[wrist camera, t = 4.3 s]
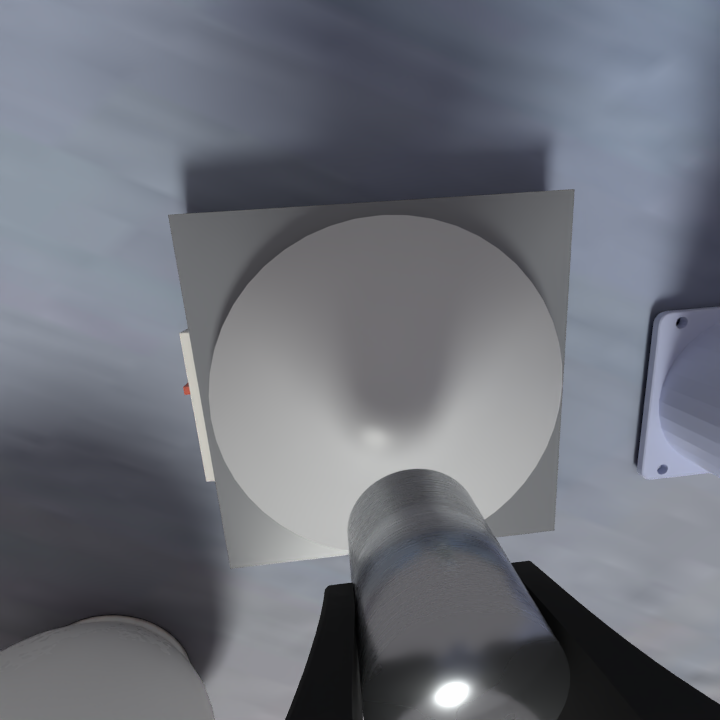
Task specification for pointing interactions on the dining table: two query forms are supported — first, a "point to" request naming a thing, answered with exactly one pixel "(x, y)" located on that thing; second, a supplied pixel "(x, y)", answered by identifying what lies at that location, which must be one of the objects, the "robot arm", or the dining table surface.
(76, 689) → the lidded bowl
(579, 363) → the dining table surface
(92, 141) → the dining table surface
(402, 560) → the cylinder
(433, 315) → the scale
